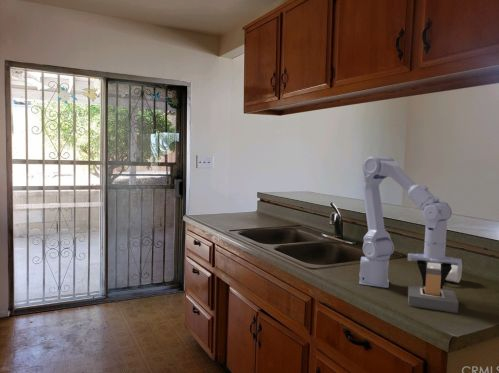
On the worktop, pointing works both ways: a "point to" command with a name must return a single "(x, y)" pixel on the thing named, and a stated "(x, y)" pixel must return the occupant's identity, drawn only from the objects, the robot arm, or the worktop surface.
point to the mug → (453, 274)
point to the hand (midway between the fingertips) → (432, 286)
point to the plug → (433, 281)
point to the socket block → (432, 299)
